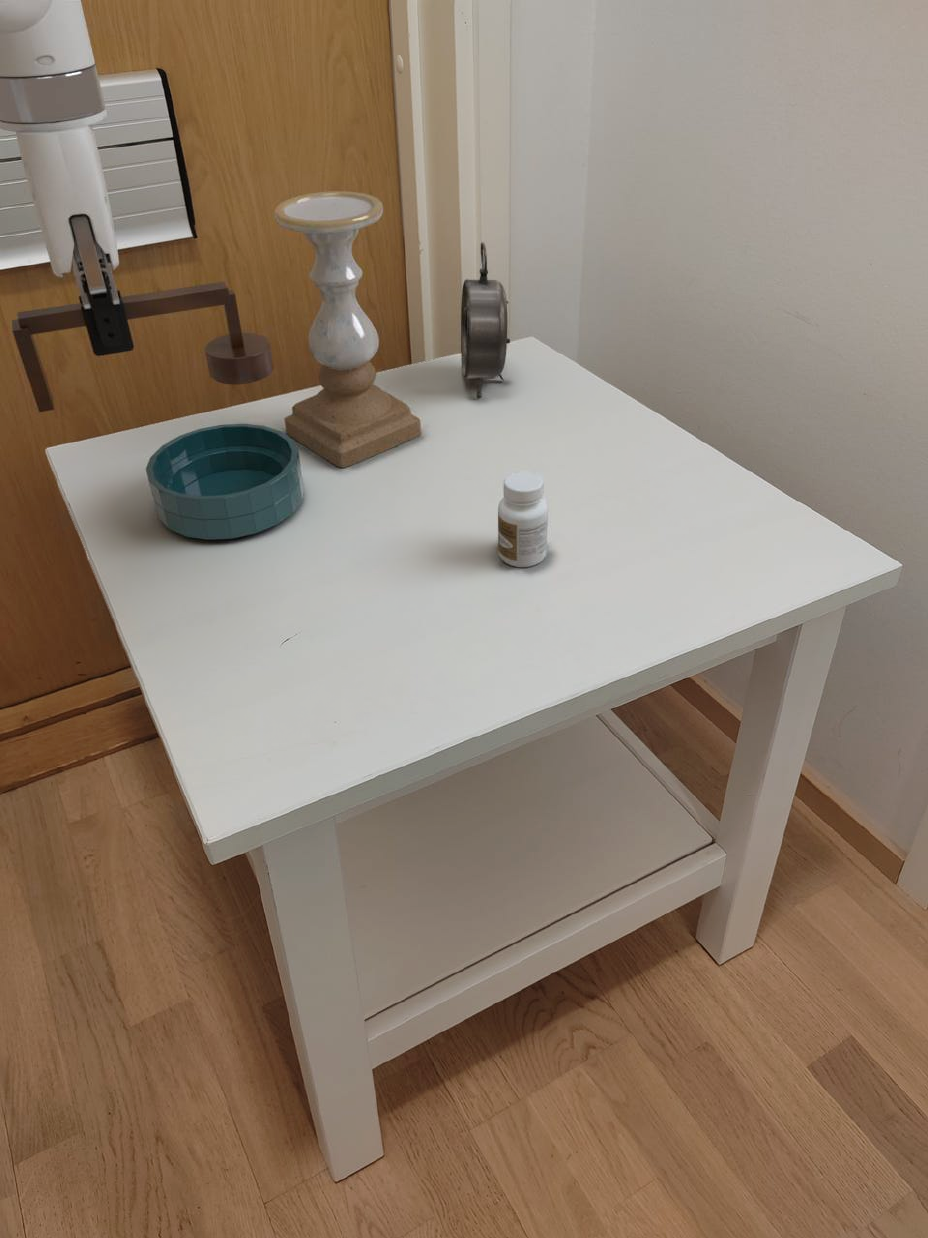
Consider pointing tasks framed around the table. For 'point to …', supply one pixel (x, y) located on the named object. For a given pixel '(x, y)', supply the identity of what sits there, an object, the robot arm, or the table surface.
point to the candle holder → (342, 338)
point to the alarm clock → (483, 327)
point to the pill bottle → (522, 520)
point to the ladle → (226, 355)
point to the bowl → (225, 481)
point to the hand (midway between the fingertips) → (112, 345)
